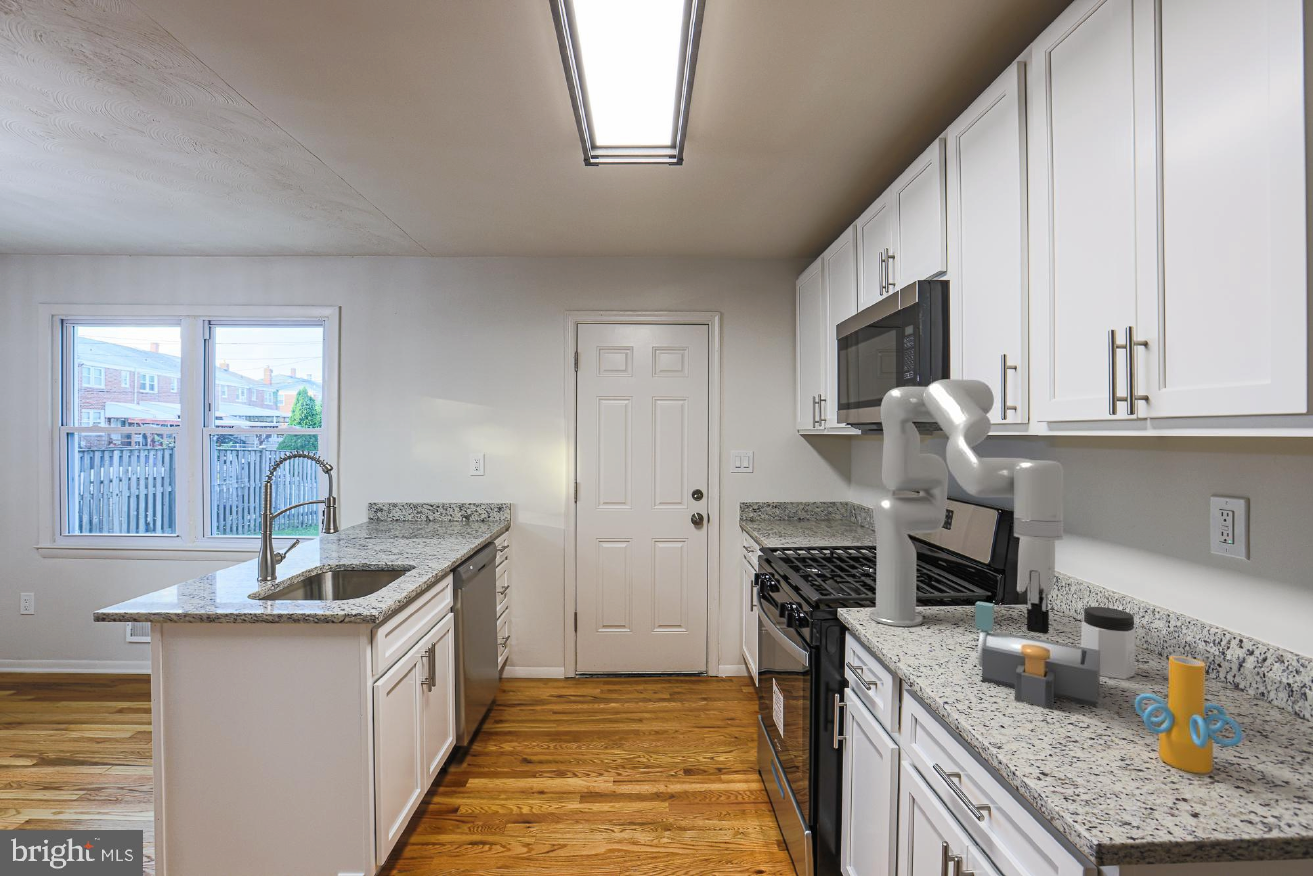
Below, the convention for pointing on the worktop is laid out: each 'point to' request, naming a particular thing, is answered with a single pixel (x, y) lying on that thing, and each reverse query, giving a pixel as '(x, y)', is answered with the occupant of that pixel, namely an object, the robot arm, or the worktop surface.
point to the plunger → (1035, 659)
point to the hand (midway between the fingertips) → (1037, 631)
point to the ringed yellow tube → (1187, 719)
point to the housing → (1059, 675)
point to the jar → (1111, 640)
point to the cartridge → (986, 624)
